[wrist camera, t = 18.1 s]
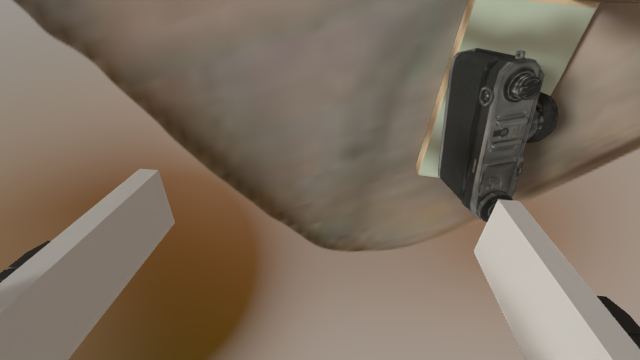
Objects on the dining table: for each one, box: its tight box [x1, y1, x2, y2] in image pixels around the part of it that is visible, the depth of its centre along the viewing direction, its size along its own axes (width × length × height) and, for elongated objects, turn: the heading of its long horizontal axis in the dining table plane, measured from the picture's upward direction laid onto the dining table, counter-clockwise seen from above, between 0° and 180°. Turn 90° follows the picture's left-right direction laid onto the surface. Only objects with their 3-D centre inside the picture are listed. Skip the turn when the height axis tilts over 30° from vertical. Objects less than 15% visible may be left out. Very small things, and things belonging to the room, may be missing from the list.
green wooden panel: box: [415, 0, 640, 178], centre depth 26 cm, size 25×12×18 cm, turn 175°
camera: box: [438, 48, 558, 222], centre depth 31 cm, size 18×9×10 cm, turn 8°
